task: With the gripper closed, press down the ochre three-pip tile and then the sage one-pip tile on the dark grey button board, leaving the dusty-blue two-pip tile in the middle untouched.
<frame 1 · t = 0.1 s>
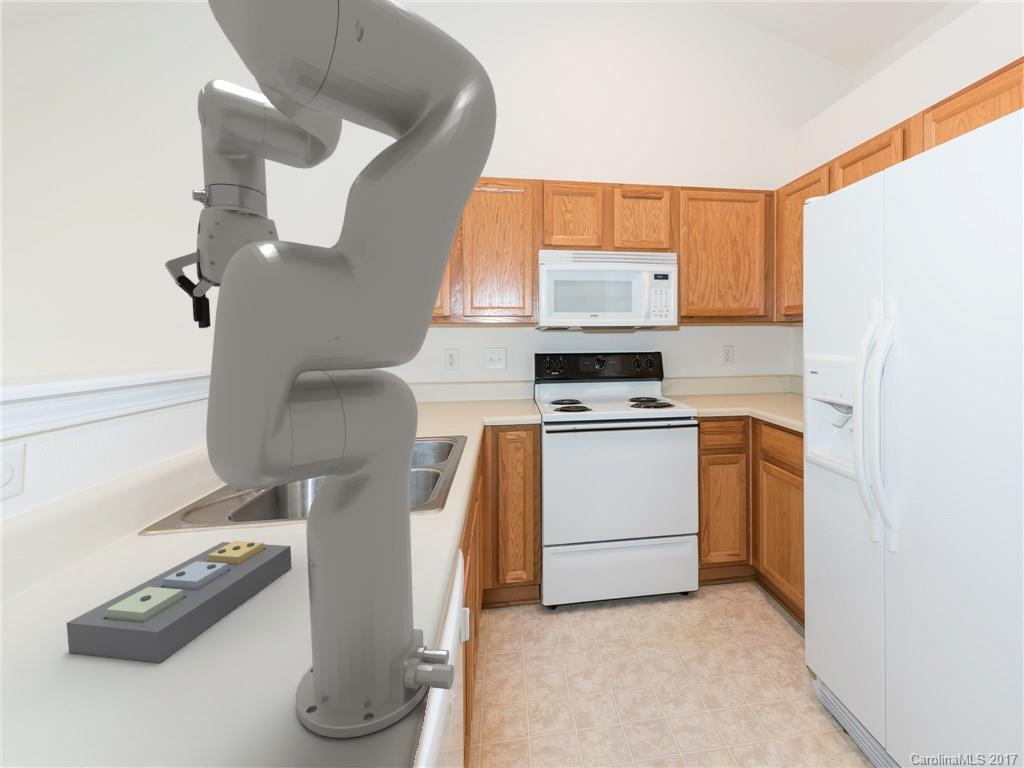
hand: (243, 328, 65), 37 cm above the counter, tool pointing down, fingers open, 9 cm apart
tile two: (196, 577, 60), point 4 cm above the counter, slide at 0.0 cm
tile three: (236, 554, 67), point 4 cm above the counter, slide at 0.0 cm
tile one: (146, 606, 53), point 4 cm above the counter, slide at 0.0 cm
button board: (198, 603, 60), on the counter
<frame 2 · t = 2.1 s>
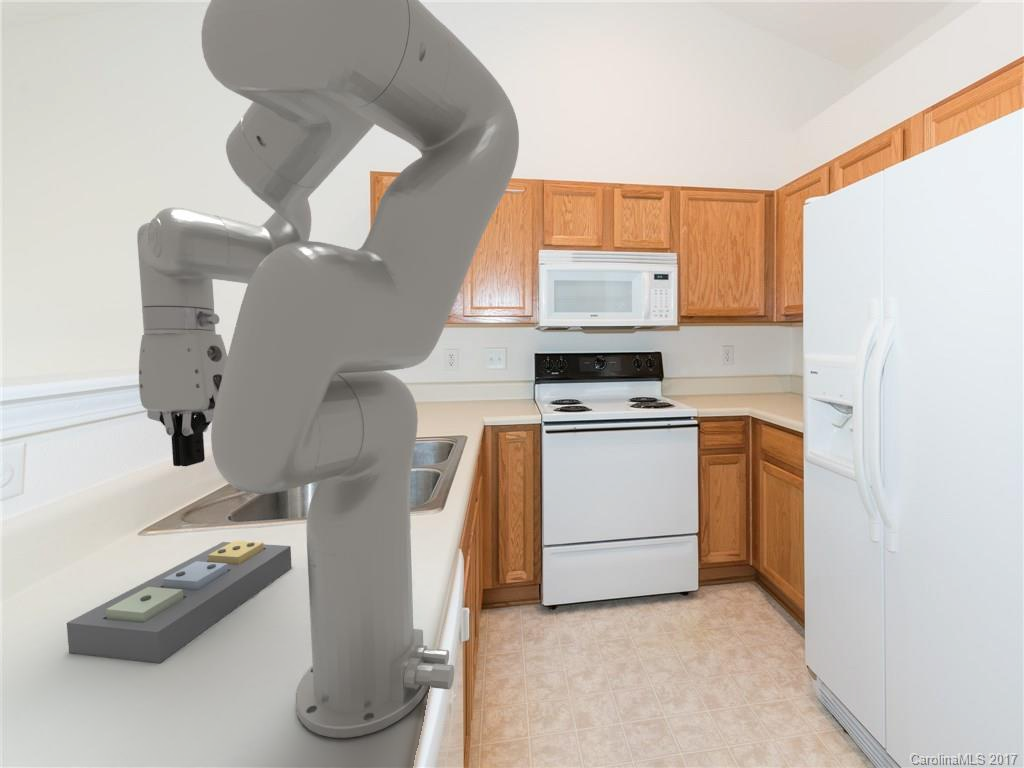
hand: (189, 463, 59), 19 cm above the counter, tool pointing down, fingers closed
nothing on the counter moved.
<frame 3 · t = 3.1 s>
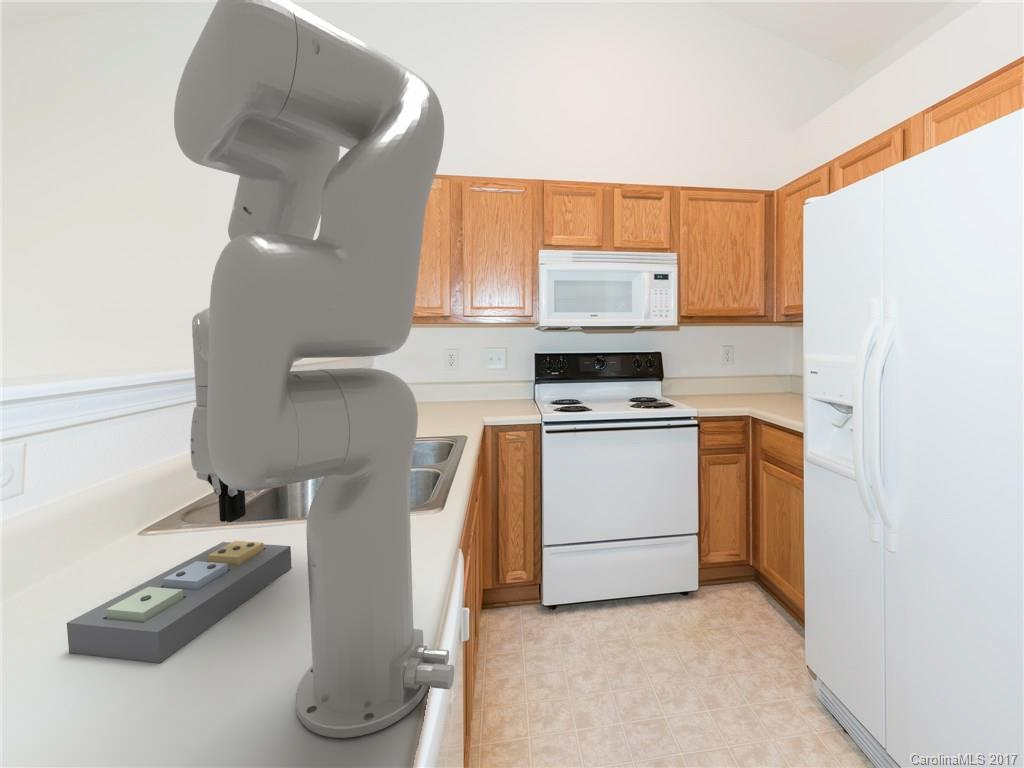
hand: (233, 518, 67), 9 cm above the counter, tool pointing down, fingers closed
nothing on the counter moved.
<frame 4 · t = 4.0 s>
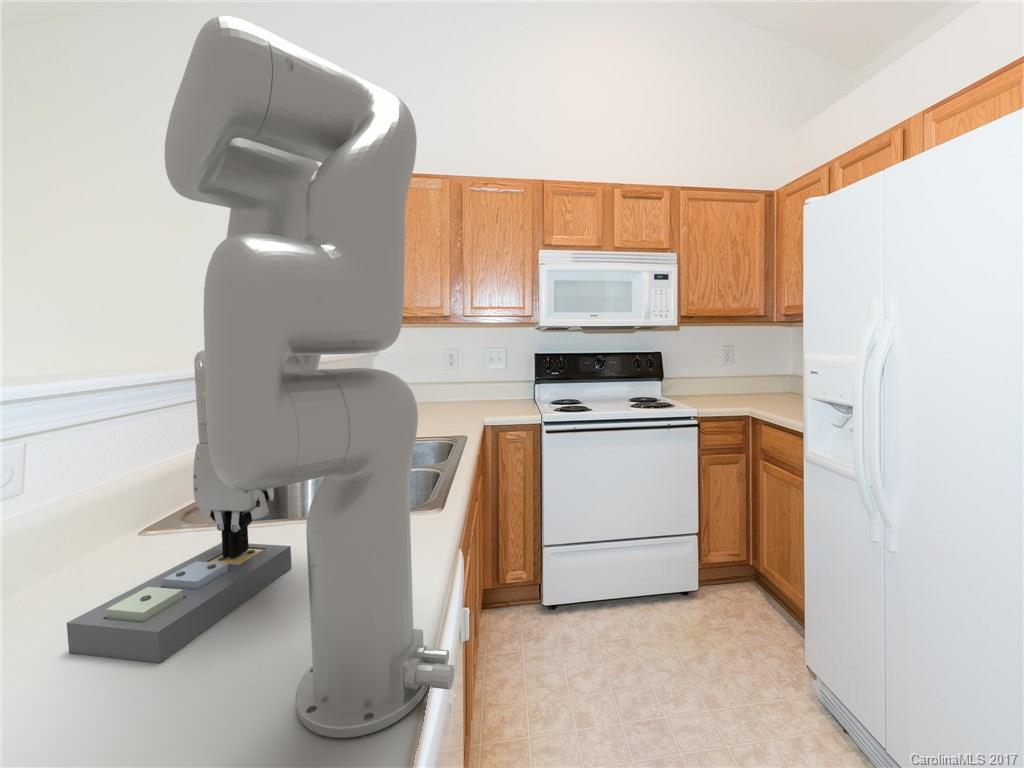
hand: (236, 553, 67), 4 cm above the counter, tool pointing down, fingers closed
tile three: (237, 561, 67), point 2 cm above the counter, slide at -1.1 cm, touching gripper
everything else where it was.
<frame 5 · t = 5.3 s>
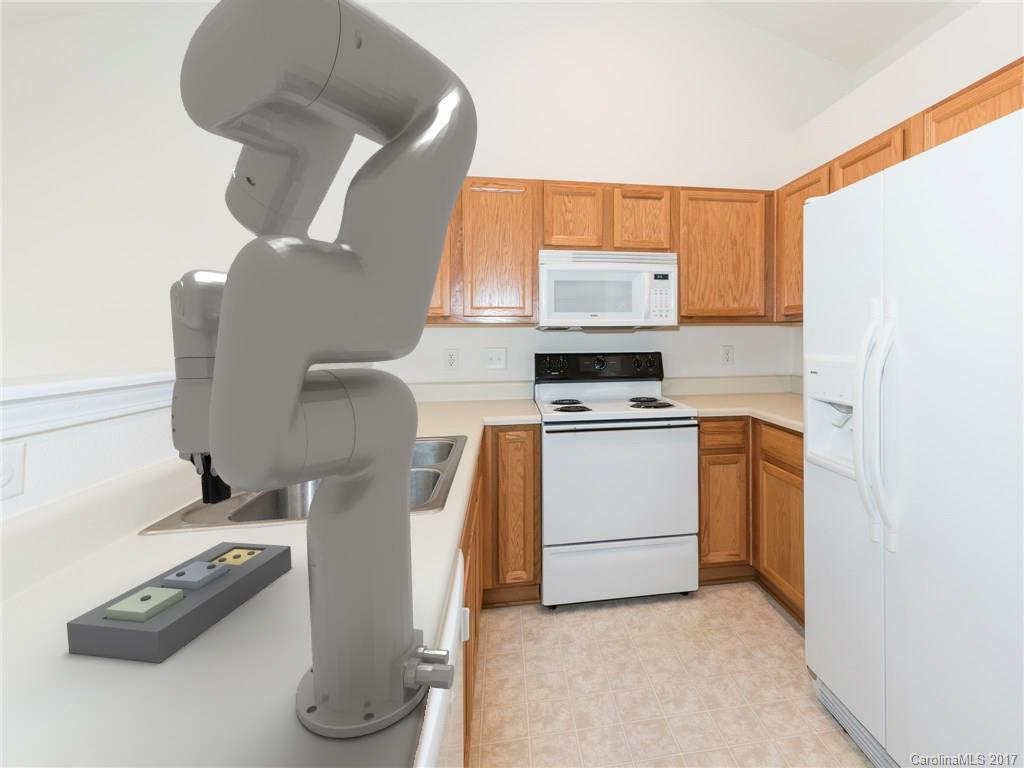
hand: (217, 500, 63), 13 cm above the counter, tool pointing down, fingers closed
tile three: (237, 562, 67), point 2 cm above the counter, slide at -1.3 cm
everything else where it was.
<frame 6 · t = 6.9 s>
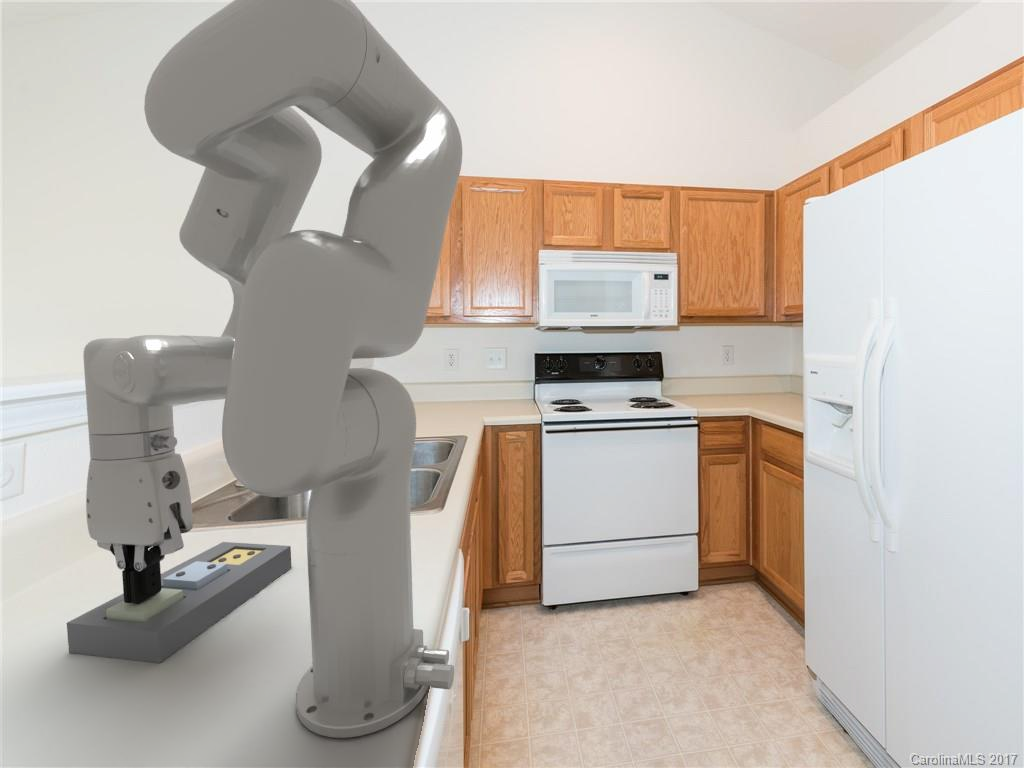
hand: (143, 597, 53), 5 cm above the counter, tool pointing down, fingers closed
tile one: (146, 606, 53), point 4 cm above the counter, slide at -0.1 cm, touching gripper
everything else where it was.
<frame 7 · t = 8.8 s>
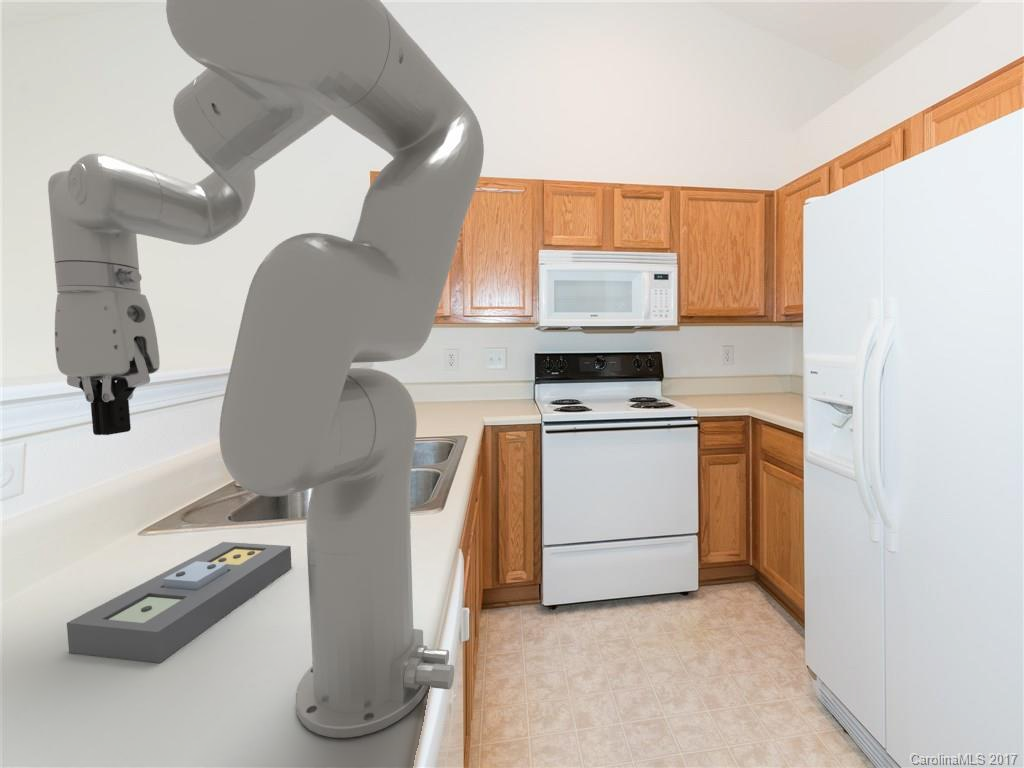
hand: (112, 432, 55), 24 cm above the counter, tool pointing down, fingers closed
tile one: (147, 616, 53), point 2 cm above the counter, slide at -1.3 cm
everything else where it was.
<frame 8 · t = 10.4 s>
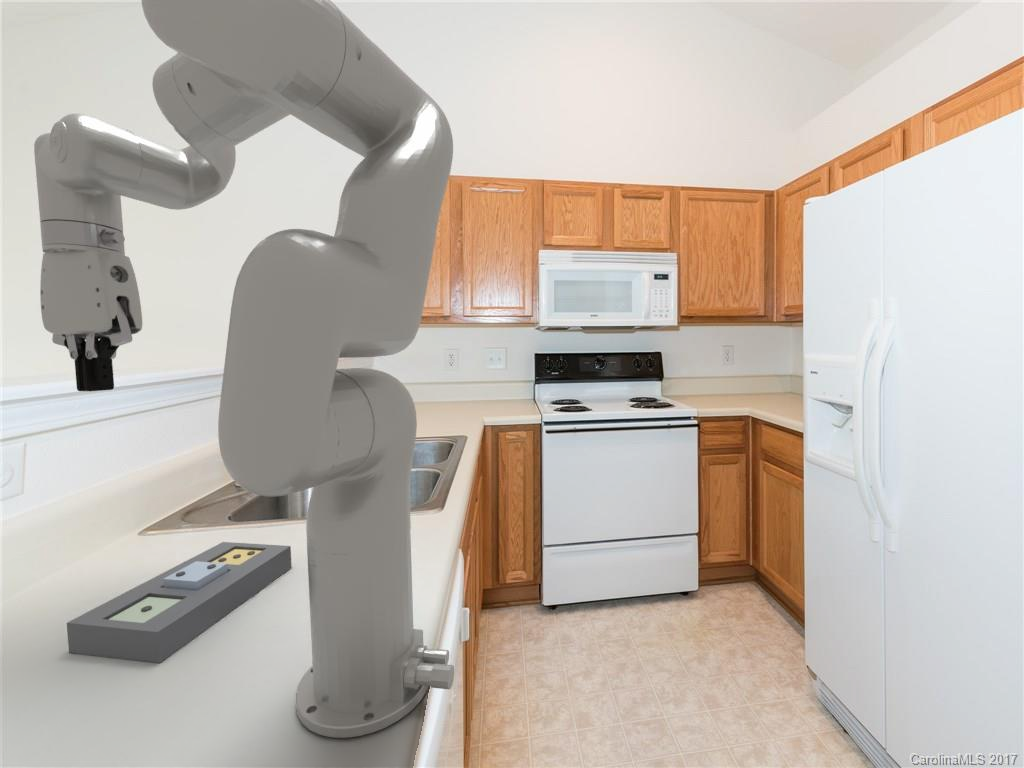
hand: (96, 390, 57), 29 cm above the counter, tool pointing down, fingers closed
nothing on the counter moved.
at the end: tile three slide at -1.3 cm; tile one slide at -1.3 cm; tile two slide at 0.0 cm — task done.
